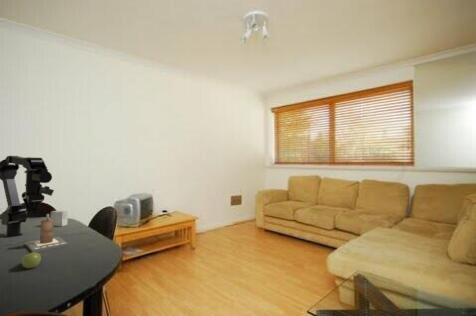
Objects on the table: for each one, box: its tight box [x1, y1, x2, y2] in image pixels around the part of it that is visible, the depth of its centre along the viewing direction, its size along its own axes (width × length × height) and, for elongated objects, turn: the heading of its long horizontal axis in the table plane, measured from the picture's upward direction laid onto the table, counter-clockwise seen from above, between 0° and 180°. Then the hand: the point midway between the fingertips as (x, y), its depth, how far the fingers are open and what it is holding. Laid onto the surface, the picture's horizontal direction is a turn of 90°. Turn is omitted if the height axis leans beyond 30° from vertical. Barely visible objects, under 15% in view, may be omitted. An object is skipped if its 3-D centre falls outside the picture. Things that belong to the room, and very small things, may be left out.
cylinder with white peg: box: [39, 213, 54, 243], centre depth 120 cm, size 5×5×13 cm
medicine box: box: [49, 210, 68, 227], centre depth 157 cm, size 8×4×9 cm, turn 84°
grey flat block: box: [25, 236, 69, 253], centre depth 119 cm, size 16×13×1 cm
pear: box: [21, 252, 42, 269], centre depth 97 cm, size 6×5×10 cm
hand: (32, 213), depth 129 cm, fingers open, 9 cm apart
